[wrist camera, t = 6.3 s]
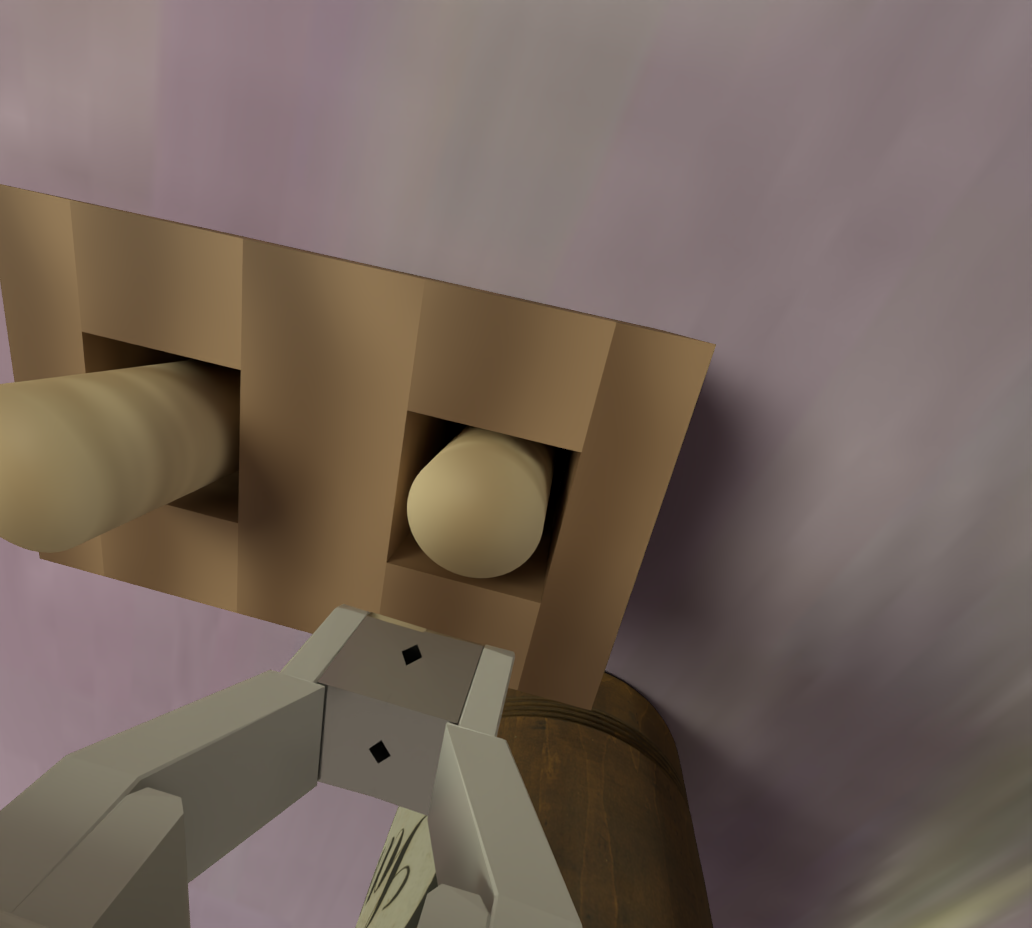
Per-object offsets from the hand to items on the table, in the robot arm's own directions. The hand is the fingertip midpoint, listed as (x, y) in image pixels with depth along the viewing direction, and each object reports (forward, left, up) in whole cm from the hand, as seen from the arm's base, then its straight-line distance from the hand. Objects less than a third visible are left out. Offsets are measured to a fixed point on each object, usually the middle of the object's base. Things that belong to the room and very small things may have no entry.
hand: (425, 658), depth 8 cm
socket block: (+5, 0, -15) cm, 16 cm away
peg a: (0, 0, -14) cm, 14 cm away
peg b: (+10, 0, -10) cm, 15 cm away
